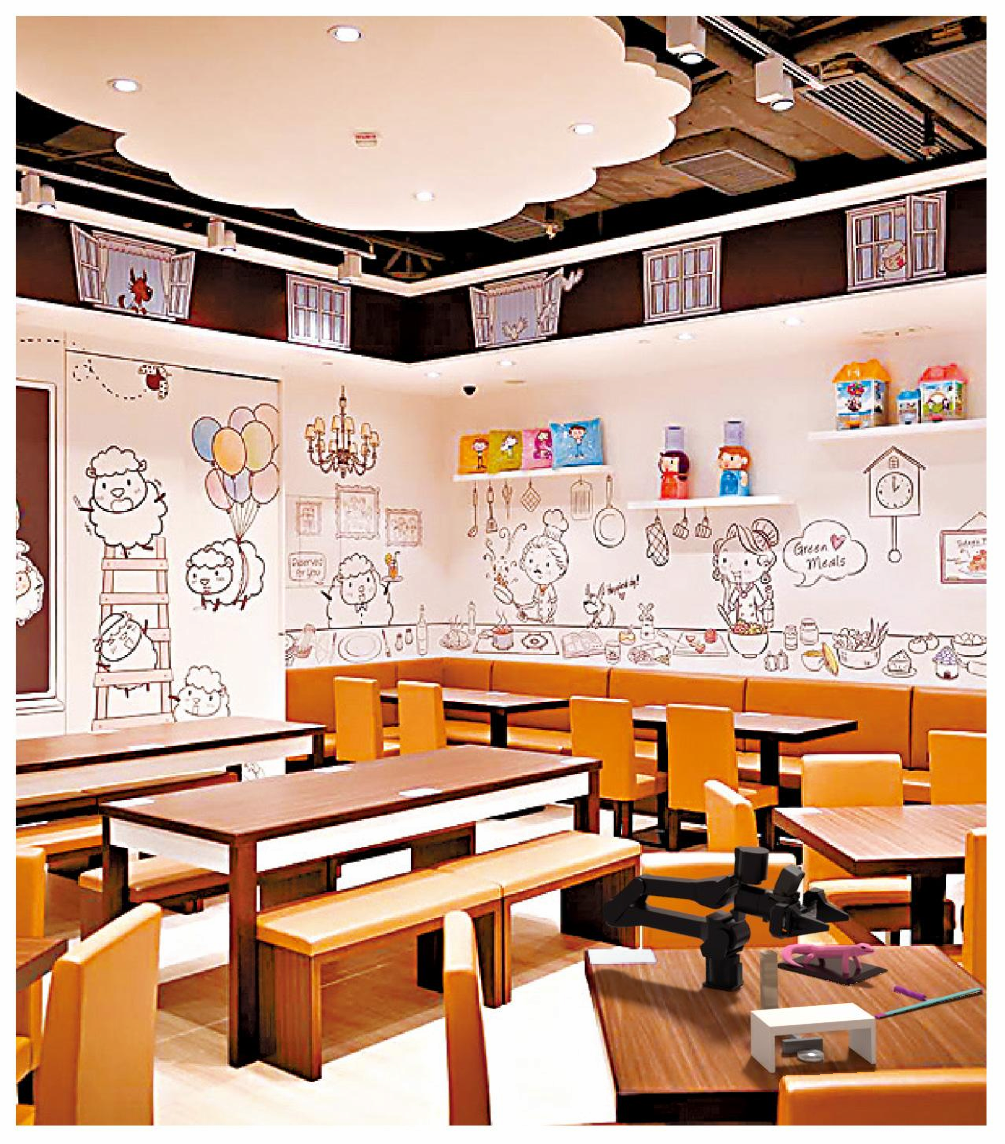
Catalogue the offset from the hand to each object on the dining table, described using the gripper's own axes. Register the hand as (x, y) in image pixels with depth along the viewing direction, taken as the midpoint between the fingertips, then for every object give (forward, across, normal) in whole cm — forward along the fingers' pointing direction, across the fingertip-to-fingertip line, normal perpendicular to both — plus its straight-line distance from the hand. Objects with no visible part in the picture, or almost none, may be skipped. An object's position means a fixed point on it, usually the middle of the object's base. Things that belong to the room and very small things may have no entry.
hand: (839, 923), depth 230 cm
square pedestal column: (-1, -19, +16) cm, 25 cm away
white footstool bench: (+8, -26, +16) cm, 32 cm away
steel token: (+7, -26, +16) cm, 31 cm away
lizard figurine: (-10, +23, +18) cm, 31 cm away
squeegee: (+10, +15, +16) cm, 24 cm away
